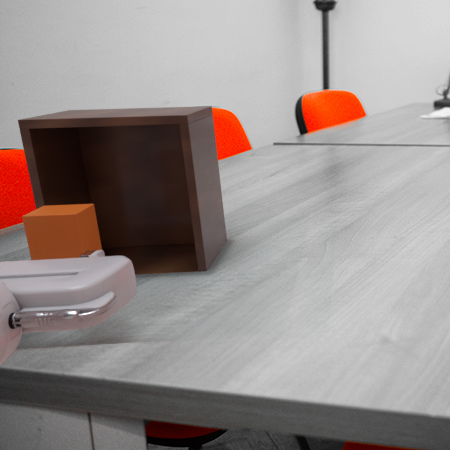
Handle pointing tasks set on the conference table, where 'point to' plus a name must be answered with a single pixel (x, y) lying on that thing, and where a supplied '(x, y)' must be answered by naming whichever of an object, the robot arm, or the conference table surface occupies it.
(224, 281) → the conference table surface
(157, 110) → the cubby
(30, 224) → the block
